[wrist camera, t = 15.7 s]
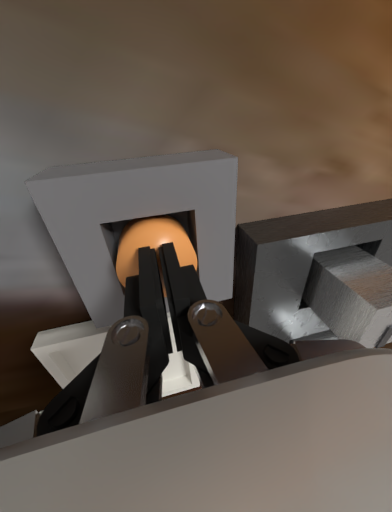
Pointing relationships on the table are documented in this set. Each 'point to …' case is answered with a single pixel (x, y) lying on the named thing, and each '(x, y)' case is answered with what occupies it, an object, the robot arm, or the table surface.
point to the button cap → (152, 244)
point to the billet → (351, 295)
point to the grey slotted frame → (299, 262)
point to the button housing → (137, 206)
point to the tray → (90, 346)
